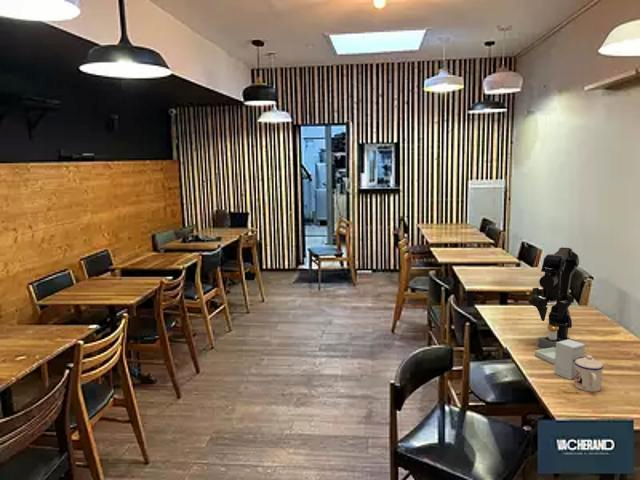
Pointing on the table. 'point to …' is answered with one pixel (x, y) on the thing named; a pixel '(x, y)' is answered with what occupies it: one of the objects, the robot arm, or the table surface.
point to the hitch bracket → (547, 342)
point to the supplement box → (567, 357)
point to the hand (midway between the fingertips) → (551, 319)
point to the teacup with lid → (588, 374)
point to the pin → (552, 332)
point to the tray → (546, 355)
